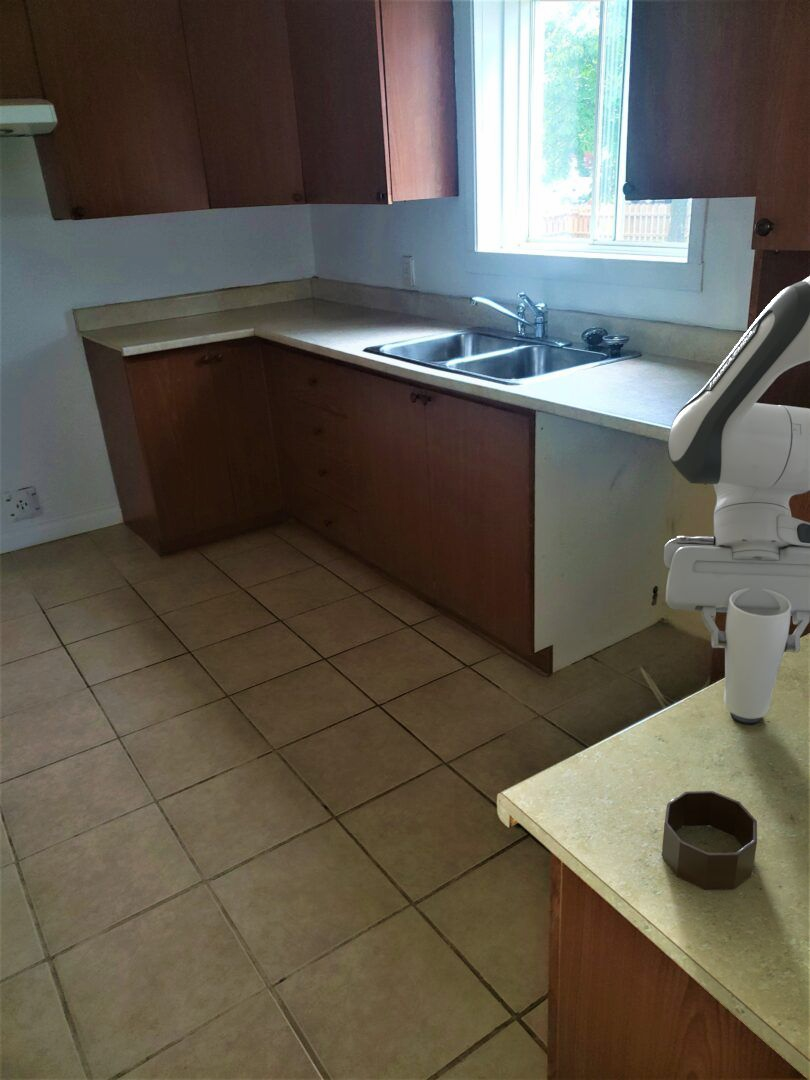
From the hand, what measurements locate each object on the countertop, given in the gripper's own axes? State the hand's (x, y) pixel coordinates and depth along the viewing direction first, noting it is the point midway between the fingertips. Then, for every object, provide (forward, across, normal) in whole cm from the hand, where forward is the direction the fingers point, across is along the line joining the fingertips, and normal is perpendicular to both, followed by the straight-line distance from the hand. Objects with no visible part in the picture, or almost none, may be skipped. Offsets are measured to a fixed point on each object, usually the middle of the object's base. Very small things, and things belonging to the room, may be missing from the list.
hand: (755, 649), depth 96 cm
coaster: (+7, 0, +8) cm, 10 cm away
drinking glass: (+6, 0, +7) cm, 9 cm away
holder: (+23, -7, -9) cm, 26 cm away
